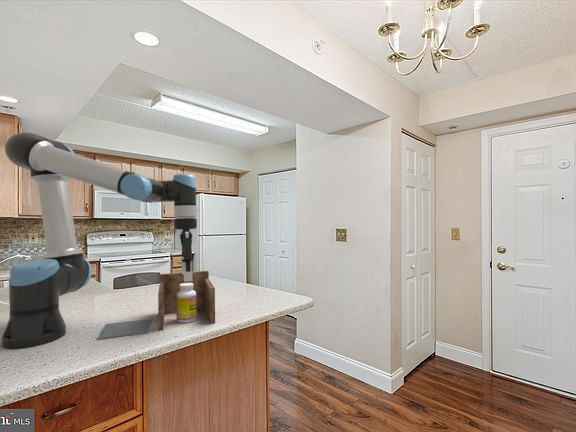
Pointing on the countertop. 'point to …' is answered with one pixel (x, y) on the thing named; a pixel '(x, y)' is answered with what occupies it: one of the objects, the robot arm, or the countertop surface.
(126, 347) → the countertop surface
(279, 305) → the countertop surface
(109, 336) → the slate mat
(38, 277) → the robot arm
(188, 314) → the supplement bottle
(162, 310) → the cubby
